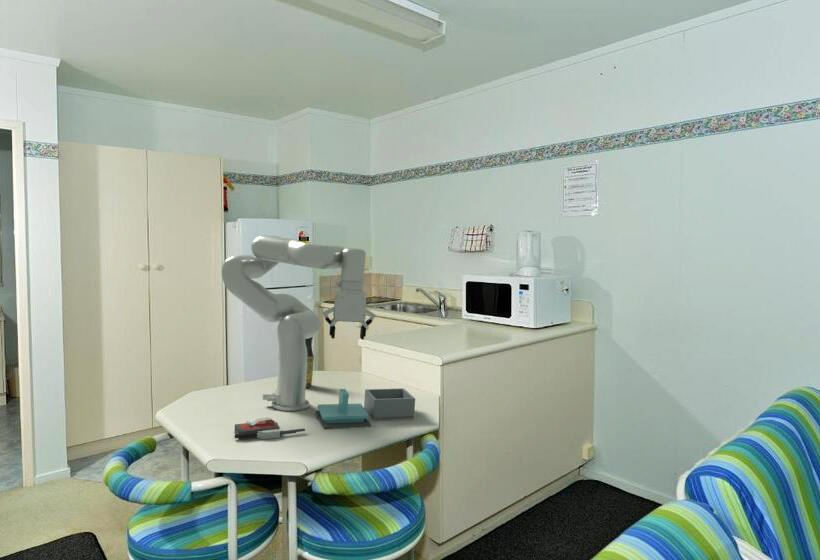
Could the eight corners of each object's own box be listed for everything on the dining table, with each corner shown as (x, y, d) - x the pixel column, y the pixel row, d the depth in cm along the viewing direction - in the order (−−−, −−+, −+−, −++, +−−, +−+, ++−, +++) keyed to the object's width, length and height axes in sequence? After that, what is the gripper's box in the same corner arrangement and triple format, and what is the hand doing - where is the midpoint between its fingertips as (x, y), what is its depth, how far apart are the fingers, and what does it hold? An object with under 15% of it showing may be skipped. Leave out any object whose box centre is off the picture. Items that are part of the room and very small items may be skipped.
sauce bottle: (302, 389, 204) (305, 337, 203) (291, 385, 208) (294, 334, 207) (315, 386, 210) (318, 335, 208) (304, 382, 213) (307, 333, 212)
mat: (323, 429, 163) (323, 427, 163) (314, 412, 178) (315, 410, 178) (371, 426, 168) (371, 424, 168) (358, 410, 183) (359, 408, 183)
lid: (322, 424, 165) (324, 397, 165) (317, 411, 177) (318, 386, 176) (368, 423, 170) (370, 396, 169) (360, 410, 181) (361, 385, 181)
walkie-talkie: (236, 444, 148) (306, 435, 158) (237, 428, 148) (307, 421, 158) (229, 433, 155) (296, 425, 166) (230, 418, 155) (297, 411, 165)
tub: (373, 421, 174) (374, 399, 173) (363, 409, 185) (365, 389, 185) (413, 419, 178) (415, 398, 178) (402, 407, 190) (403, 388, 189)
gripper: (326, 286, 168) (322, 339, 170) (380, 289, 173) (375, 341, 175) (323, 283, 176) (319, 335, 177) (374, 286, 181) (370, 336, 182)
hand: (347, 338), depth 176 cm, fingers open, 9 cm apart
